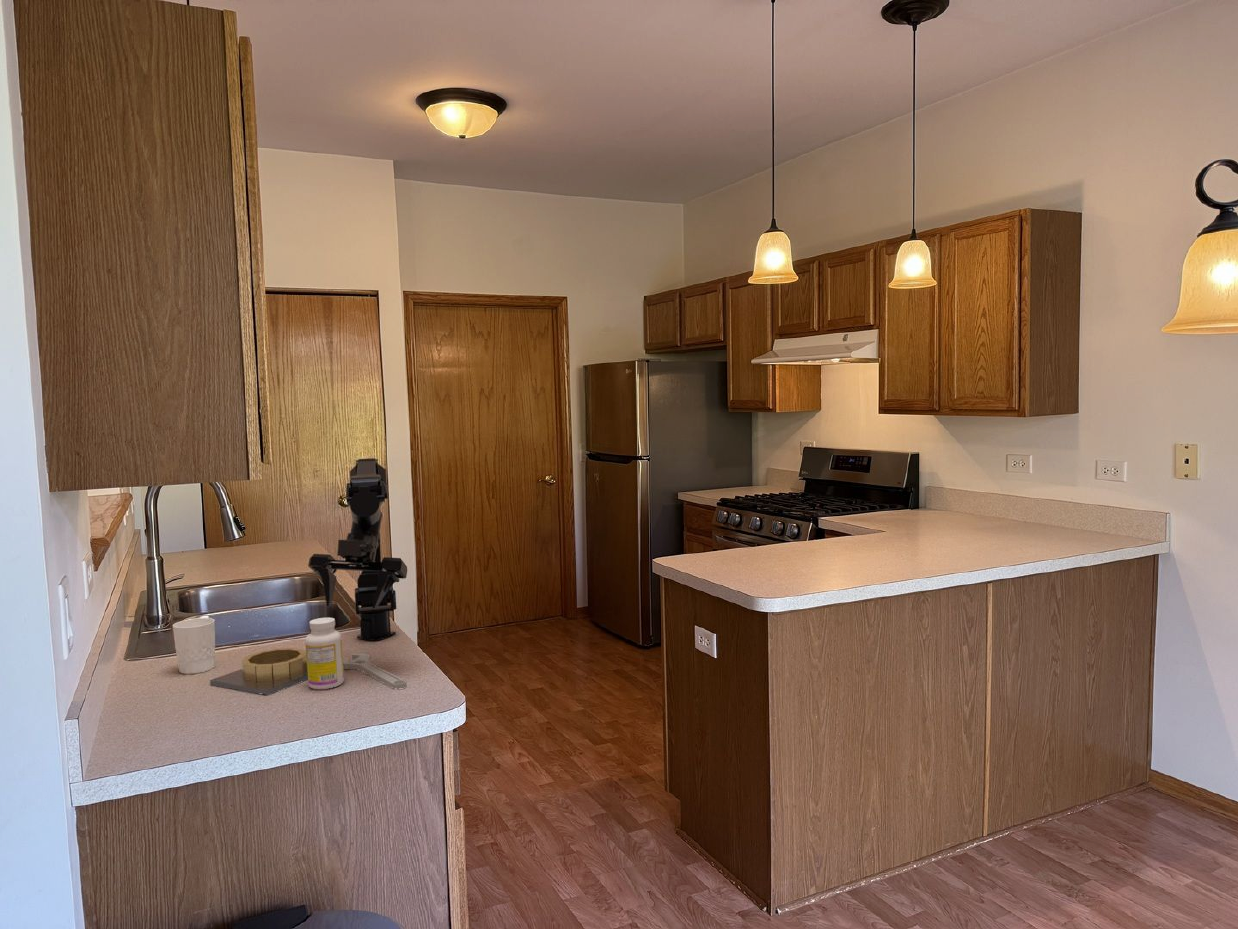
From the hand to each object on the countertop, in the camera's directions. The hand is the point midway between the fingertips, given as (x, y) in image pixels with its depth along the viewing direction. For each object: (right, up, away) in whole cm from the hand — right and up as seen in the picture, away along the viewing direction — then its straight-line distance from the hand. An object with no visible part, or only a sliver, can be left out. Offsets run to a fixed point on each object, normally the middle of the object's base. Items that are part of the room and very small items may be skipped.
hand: (351, 607), depth 170 cm
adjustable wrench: (+3, -14, +2) cm, 15 cm away
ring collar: (-16, -14, +3) cm, 22 cm away
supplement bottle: (-4, -15, -3) cm, 16 cm away
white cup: (-35, -15, +10) cm, 40 cm away
